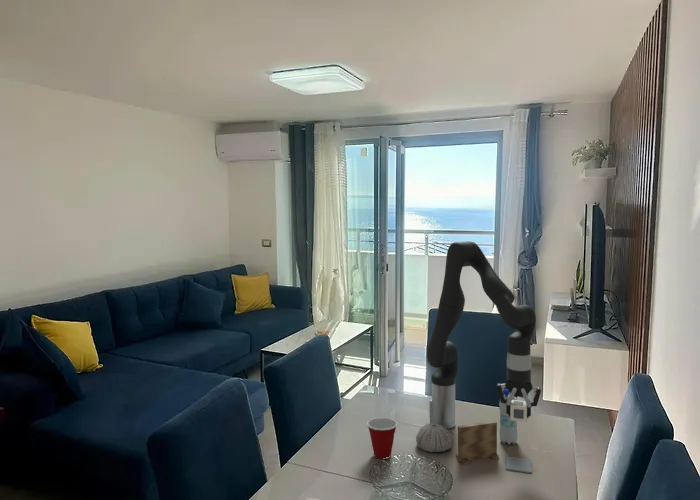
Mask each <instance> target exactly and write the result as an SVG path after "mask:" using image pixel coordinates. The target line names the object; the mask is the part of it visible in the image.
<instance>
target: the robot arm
mask: <svg viewBox="0 0 700 500" xmlns="http://www.w3.org/2000/svg"><path fill="white" fill-rule="evenodd" d="M464 267H472V268H473V269H474V270H475V271H476V272H477V273H478V276H479V277H480V281H481V287H482V289H483V291H484V293H485V295H486V296H487V297H488V298H489V300H490V301H491V302H492V303H493V304H494V305H495V307H496V309H497V311H498V314H499V316H500V318H501V320H502V322H503V323H504V325H505V326H507V327H508V328H510V329H513V330H515V331H514V332H513V333H511V334H509V336H508V338H507V355H506V381H505V383H500V382H498V383H497V384H496V389H497V391H498V392H497V393H498V396H499V402H500V401H501V403H505V404H506V413H507V414H508V416H510V409H511V405H510V403H511V401H512V399H513V397H516V398H517V397H519V398H522V399H524V401H526V404H527V419H529V418H530V417H531V416H532V415H531V414H532V407H537V406H538V403H539V399H540V395H541V394H542V390H541V387H540V386H535V385H533V384H532V358H531V355H532V354H531V340H532V338H533V335H534V331H535V328H536V321H537V317H536V316H537V315H536V312H535V310H534V309H533V307H531V306H530V305H528V304H521V305H516V306H515V305H514V304H513V303H514V301H515V297H516V296H515V295H514V293H513V292H512V290H511V289H510V288H509V287H508V286H507V285H506V284H505V283H504V281H503V280H502V279H501V278H500V277H499V276H498V274H497V273H496V272H495V270H494V268H493V266H492V265H491V264H490V262H489V261H488V259H487V257H486V256H485V254H484V252H483V251H482V249H481V248H480V246H479V245H478V244H477V243H476V242H475V241H470V240H469V241H467V240H466V241H455V242H452V243H450V245H449V247H448V249H447V251H446V260H445V270H444V278H443V284H442V290H441V294H440V298H439V303H438V306H437V314H436V318H435V322H434V328H433V331H432V334H431V338H430V341H429V343H428V346H427V347H428V348H427V350H426V358H427V362H428V364H429V366H431V367H433V368H437V369H436V370H435V371H434V372H433V373H432V374H431V399H430V400H429V424H439V425H441V426H442V427H444V428H445V429H446V430H449V429H452V428H454V427H455V426H456V378H457V376H458V364H459V363H458V362H459V356H458V355H459V354H458V353H459V352H458V349H457V347H456V345H455V344H454V343H453V342H452V341H449V337H450V336H451V334H452V332H453V331H454V330H455V328H456V326H458V324H459V322H460V320H461V319H462V317H463V312H464V307H465V305H466V303H465V302H466V300H465V299H466V298H465V295H464V294H465V293H464V291H463V288H462V285H461V274H462V270H463V268H464ZM505 389H508V391H509V395H508V398H507V399H506V398H504V390H505ZM532 391H533V394H534V395H533V398H532V400H530V397H529V394H530V393H531V392H532Z"/></svg>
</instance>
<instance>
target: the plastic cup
mask: <svg viewBox="0 0 700 500" xmlns="http://www.w3.org/2000/svg"><path fill="white" fill-rule="evenodd" d="M397 426H398V422H397V421H396V420H394V419H392V418H386V417H375V418H371V419H370V420H369V419H368V421H367V422H366V427H368V431H369V435H370V440H371V447H372V451H373V455H374V458H376V459H378V460H384V459H383V458H386V457H389V456H390V457H391V456H392V451H393V444H394V438H395V433H396V430H397V429H396V428H397ZM390 457H389V458H390Z"/></svg>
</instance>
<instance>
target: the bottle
mask: <svg viewBox="0 0 700 500" xmlns="http://www.w3.org/2000/svg"><path fill="white" fill-rule="evenodd" d="M503 394H504V398H506V399H507V398H508V395H509V391H508V389H507V388H504V391H503ZM512 400H518V398H517V397H513V399H512ZM498 406H499V407H498V409H499V440H500V441H501V442H502V443H503V445H505V444H506V443H507V445H508V446H510V445H511V444H512V445H515V444H516V443H517V441H518V421H512V420H510V416H508V414H507V413H506V404H505V403H501V401H500V400H499V404H498Z"/></svg>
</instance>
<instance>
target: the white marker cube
mask: <svg viewBox="0 0 700 500" xmlns="http://www.w3.org/2000/svg"><path fill="white" fill-rule="evenodd" d="M510 405H511V409H510V420H512V421H517V422H523V423H527V422H528V418H527V404H526V401H525V400H518V399H517V400H512V401H511V403H510Z"/></svg>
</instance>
